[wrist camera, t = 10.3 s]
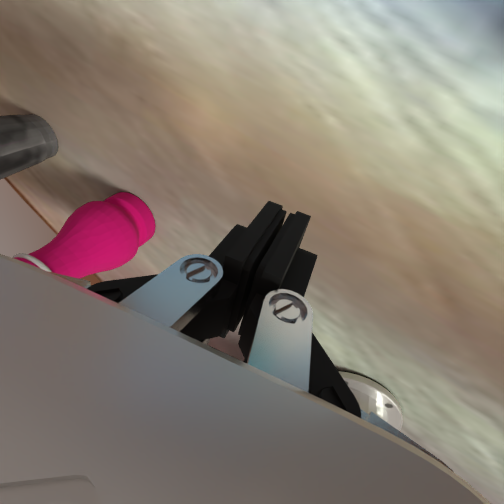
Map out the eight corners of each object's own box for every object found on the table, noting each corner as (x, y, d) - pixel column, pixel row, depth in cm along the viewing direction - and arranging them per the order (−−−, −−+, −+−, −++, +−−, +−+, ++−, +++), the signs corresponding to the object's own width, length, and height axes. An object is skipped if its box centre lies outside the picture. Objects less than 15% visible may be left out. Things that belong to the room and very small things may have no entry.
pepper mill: (141, 253, 38) (-31, 393, 22) (98, 210, 37) (-118, 326, 21) (170, 224, 34) (-17, 372, 18) (123, 174, 32) (-125, 287, 17)
